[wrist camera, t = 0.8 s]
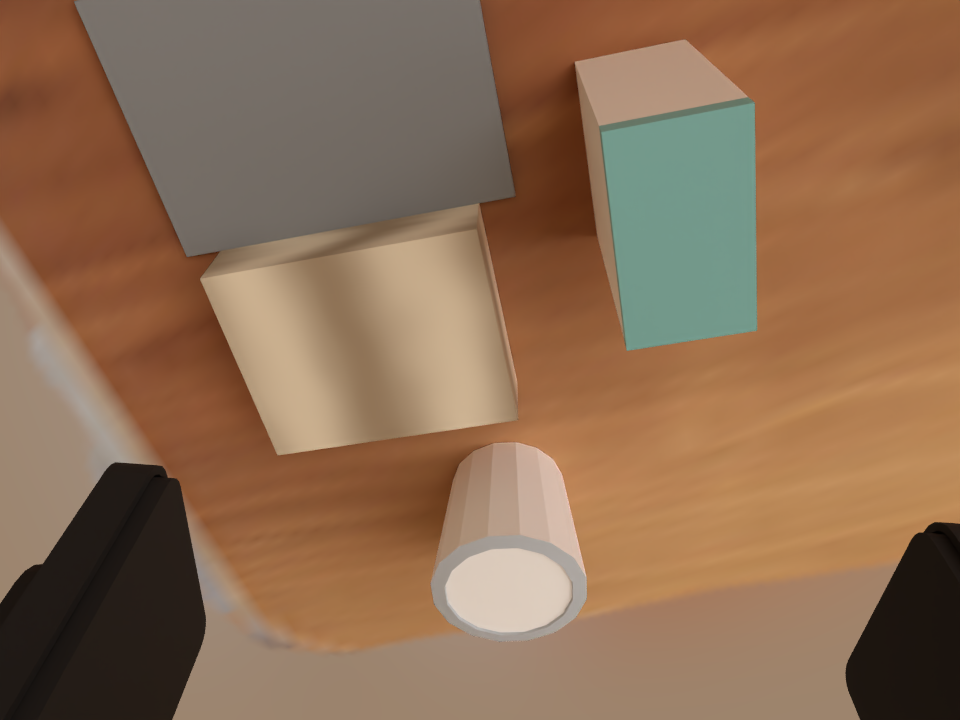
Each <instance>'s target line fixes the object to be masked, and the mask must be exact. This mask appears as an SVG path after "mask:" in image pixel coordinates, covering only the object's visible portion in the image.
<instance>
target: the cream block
mask: <svg viewBox="0 0 960 720" xmlns="http://www.w3.org/2000/svg"><path fill="white" fill-rule="evenodd" d="M575 69H576V77H577V84H578V92H579V100H580V108H581V115H582V123H583V131H584V139H585V146H586V154H587V162H588V170H589V177H590V185H591V193H592V201H593V208H594V216H595V224H596V231H597V238H598V242H599V245H600V249H601V253H602V257H603V261H604V265H605V268H606V272H607V276H608V280H609V284H610V288H611V291H612V295H613V299H614V303H615V307H616V311H617V315H618V318H619V322H620V326H621V330H622V334H623V338H624V341H625V345H626V349H627V351H629V350H635V349H642V348H648V347H654V346H661V345H667V344H674V343H680V342H687V341H693V340H700V339H706V338H712V337H719V336H725V335H732V334H738V333H745V332H751V331H757V276H756V179H755V103H754V102H753V101H752V100H751V99H750V98H749V97H748V96H747V95H746V94H745V93H744V92H742V91H741V90H740V89H739V88H738V87H737V86H736V85H735V84H734V83H733V82H731V81H730V80H729V79H728V78H727V77H726V76H725V75H724V74H723V73H722V72H721V71H719V70H718V69H717V68H716V67H715V66H714V65H713V64H712V63H711V62H710V61H709V60H707V59H706V58H705V57H704V56H703V55H702V54H701V53H700V52H699V51H698V50H696V49H695V48H694V47H693V46H692V45H691V44H690V43H689V42H688V41H687V40H686V39H684V40H679V41H674V42H669V43H664V44H659V45H654V46H650V47H645V48H640V49H635V50H630V51H625V52H620V53H615V54H611V55H606V56H601V57H596V58H591V59H586V60H581V61H576V62H575Z"/></svg>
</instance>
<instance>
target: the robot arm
mask: <svg viewBox="0 0 960 720" xmlns="http://www.w3.org/2000/svg"><path fill="white" fill-rule="evenodd" d="M205 627H206V616H205V610H204V605H203V600H202V595H201V590H200V584H199V579H198V574H197V569H196V564H195V559H194V553H193V548H192V543H191V538H190V533H189V528H188V522H187V517H186V512H185V507H184V502H183V497H182V491H181V486H180V483H179V481H178V480H177V479H175V478H168V477H167V474H166V471H165V469H164V468H163V467H162V466H157V465H144V464H130V463H116V462H115V463H113V464H111V465H110V466H109V467H108V468H107V469H106V471H105V472H104V474H103V475H102V477H101V478H100V480H99V481H98V483H97V484H96V486H95V487H94V488H93V490H92V491H91V493H90V494H89V496H88V498H87V499H86V500H85V502H84V503H83V505H82V506H81V508H80V509H79V511H78V512H77V514H76V515H75V517H74V518H73V520H72V521H71V523H70V524H69V526H68V527H67V529H66V530H65V532H64V533H63V535H62V536H61V538H60V539H59V541H58V542H57V544H56V545H55V547H54V548H53V550H52V551H51V553H50V554H49V556H48V557H47V559H46V560H45V562H44V563H43V564H40V565H34V566H32V567H31V568H29V569H27V570H26V571H25V572H24V573H23V574H22V575H21V576H20V577H19V579H18V580H17V581H16V582H15V583H14V585H13V586H12V588H11V589H10V590H9V592H8V593H7V595H6V596H5V598H4V599H3V601H2V602H1V603H0V720H172V718H173V716H174V714H175V711H176V709H177V706H178V703H179V701H180V698H181V696H182V693H183V691H184V688H185V686H186V683H187V681H188V678H189V676H190V673H191V671H192V668H193V666H194V663H195V661H196V658H197V656H198V653H199V651H200V648H201V645H202V642H203V638H204V634H205ZM846 683H847V687H848V691H849V694H850V696H851V698H852V701H853V703H854V705H855V708H856V711H857V713H858V715H859V718H860V720H960V524H956V523H942V522H934V523H932V524H931V525H929V526H928V527H927V528H926V530H925V531H924V533H918V534H916V535H915V536H914V537H913V538H912V540H911V542H910V543H909V545H908V547H907V549H906V551H905V553H904V555H903V557H902V559H901V561H900V563H899V564H898V566H897V568H896V570H895V572H894V574H893V576H892V578H891V580H890V582H889V584H888V585H887V588H886V589H885V591H884V593H883V595H882V597H881V599H880V601H879V603H878V605H877V606H876V608H875V610H874V612H873V614H872V616H871V618H870V620H869V622H868V624H867V626H866V627H865V630H864V631H863V633H862V635H861V637H860V639H859V641H858V643H857V645H856V646H855V648H854V651H853V652H852V654H851V656H850V658H849V660H848V663H847V666H846Z"/></svg>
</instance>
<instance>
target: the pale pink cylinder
mask: <svg viewBox="0 0 960 720" xmlns="http://www.w3.org/2000/svg"><path fill="white" fill-rule="evenodd" d="M431 589H432V595H433V601H434V605H435V606H436V607H437V609H438V610H439V611H440V612H441V614H442V615H443V616H444V617H445V619H446V620H447V621H448V622H449V623H450V624H452V625H454V626H456V627H458V628H459V629H461V630H463V631H465V632H466V633H468V634H470V635H472V636H477V637H481V638H485V639H490V640H494V641H499V642H502V641H529V640H532V639H535V638H539V637H542V636H545V635H548V634H551V633H555V632H556V631H558V630H559V629H561V628H562V627H563V626H565V625H566V624H568V623H569V622H571V621H572V620H573V619H575V618H576V616H577V615H578V613H579V611H580V610H581V608H582V606H583V605H584V603H585V601H586V599H587V577H586V573H585V569H584V565H583V561H582V556H581V552H580V548H579V544H578V540H577V535H576V531H575V527H574V523H573V519H572V514H571V510H570V506H569V502H568V498H567V493H566V489H565V485H564V481H563V477H562V473H561V472H560V470H559V468H558V467H557V465H556V463H555V462H554V460H553V459H552V458H551V457H549V456H548V455H546V454H545V453H544V452H542V451H541V450H539V449H538V448H536V447H532V446H529V445H525V444H521V443H517V442H506V443H492V444H490V445H487V446H485V447H482V448H479V449H477V450H474V451H473V452H472V453H471V454H469V455H468V456H467V457H466V458H465V459H464V460H463V461H462V462H461V463H460V464H459V466H458V469H457V471H456V474H455V476H454V479H453V483H452V487H451V492H450V497H449V501H448V506H447V510H446V515H445V520H444V524H443V529H442V533H441V538H440V542H439V547H438V552H437V556H436V561H435V565H434V570H433V575H432V579H431Z"/></svg>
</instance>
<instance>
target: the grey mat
mask: <svg viewBox="0 0 960 720" xmlns="http://www.w3.org/2000/svg"><path fill="white" fill-rule="evenodd" d="M74 3H75V5H76V8H77V10H78V12H79V14H80V17H81V19H82V21H83V23H84V26H85V28H86V30H87V32H88V35H89V37H90V39H91V41H92V44H93V46H94V48H95V51H96V53H97V55H98V57H99V60H100V62H101V64H102V66H103V69H104V71H105V73H106V75H107V78H108V80H109V82H110V84H111V87H112V89H113V91H114V93H115V96H116V98H117V100H118V102H119V105H120V107H121V109H122V111H123V114H124V116H125V118H126V120H127V123H128V125H129V127H130V129H131V132H132V134H133V136H134V138H135V141H136V143H137V145H138V148H139V150H140V152H141V154H142V157H143V159H144V161H145V163H146V166H147V168H148V170H149V172H150V175H151V177H152V179H153V181H154V184H155V186H156V188H157V190H158V193H159V195H160V197H161V199H162V202H163V204H164V206H165V208H166V211H167V213H168V215H169V217H170V220H171V222H172V224H173V226H174V229H175V231H176V233H177V236H178V238H179V240H180V242H181V245H182V247H183V249H184V251H185V254H186V256H187V257H190V256H196V255H201V254H207V253H212V252H217V251H223V250H228V249H234V248H239V247H245V246H250V245H255V244H261V243H266V242H272V241H277V240H283V239H288V238H293V237H299V236H304V235H310V234H315V233H321V232H326V231H331V230H337V229H342V228H348V227H353V226H359V225H364V224H369V223H375V222H380V221H386V220H391V219H397V218H402V217H407V216H413V215H418V214H424V213H429V212H435V211H440V210H445V209H451V208H456V207H462V206H467V205H473V204H478V203H483V202H489V201H494V200H500V199H505V198H511V197H515V189H514V183H513V178H512V173H511V167H510V162H509V156H508V151H507V146H506V140H505V135H504V129H503V124H502V118H501V113H500V108H499V102H498V97H497V91H496V86H495V81H494V75H493V70H492V64H491V59H490V53H489V48H488V43H487V37H486V32H485V26H484V21H483V15H482V10H481V5H480V0H77V1H74Z"/></svg>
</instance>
